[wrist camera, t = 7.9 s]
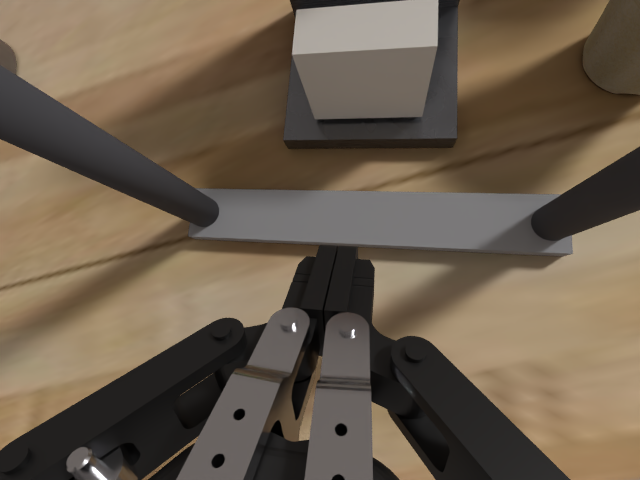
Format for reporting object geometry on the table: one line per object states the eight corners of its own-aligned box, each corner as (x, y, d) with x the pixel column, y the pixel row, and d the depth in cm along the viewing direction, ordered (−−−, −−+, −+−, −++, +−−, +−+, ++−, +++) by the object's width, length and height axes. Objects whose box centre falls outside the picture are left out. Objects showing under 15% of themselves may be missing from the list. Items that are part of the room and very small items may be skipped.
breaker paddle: (422, 116, 25) (437, 45, 18) (314, 119, 26) (291, 54, 20) (423, 80, 25) (438, -3, 19) (317, 84, 27) (296, 9, 20)
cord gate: (563, 256, 23) (1480, 6, 4) (195, 239, 28) (-207, 94, 9) (560, 200, 24) (1322, -250, 5) (202, 193, 29) (-158, -35, 10)
